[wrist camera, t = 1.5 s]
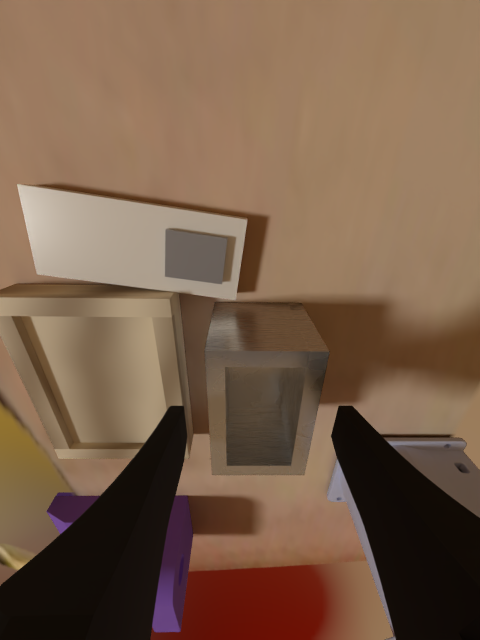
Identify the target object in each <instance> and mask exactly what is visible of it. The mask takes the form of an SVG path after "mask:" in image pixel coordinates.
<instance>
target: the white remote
mask: <svg viewBox="0 0 480 640" xmlns="http://www.w3.org/2000/svg"><path fill="white" fill-rule="evenodd" d="M17 186H18V191H19V195H20V200H21V204H22V209H23V213H24V218H25V222H26V227H27V231H28V236H29V241H30V245H31V250H32V254H33V259H34V263H35V268H36V272H37V274H39V275H46V276H54V277H62V278H69V279H77V280H85V281H92V282H100V283H108V284H115V285H123V286H131V287H138V288H146V289H154V290H161V291H169V292H177V293H185V294H192V295H200V296H208V297H215V298H223V299H231V300H236V294H237V287H238V281H239V274H240V267H241V260H242V253H243V247H244V240H245V233H246V226H247V218H245V217H239V216H233V215H226V214H220V213H213V212H207V211H200V210H194V209H187V208H181V207H175V206H168V205H162V204H155V203H149V202H142V201H136V200H130V199H123V198H117V197H110V196H104V195H97V194H91V193H84V192H78V191H72V190H65V189H59V188H52V187H46V186H39V185H26V184H17Z"/></svg>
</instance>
